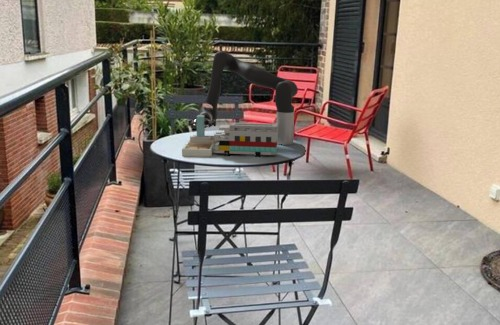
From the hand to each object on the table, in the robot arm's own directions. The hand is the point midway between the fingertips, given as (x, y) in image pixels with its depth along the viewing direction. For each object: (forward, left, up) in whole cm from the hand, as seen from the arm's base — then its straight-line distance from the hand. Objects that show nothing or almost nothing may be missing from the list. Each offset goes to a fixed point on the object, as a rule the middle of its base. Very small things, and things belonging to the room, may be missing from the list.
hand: (200, 125), depth 248 cm
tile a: (-2, +9, -10) cm, 13 cm away
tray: (0, +9, -12) cm, 15 cm away
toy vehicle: (-23, +10, -12) cm, 28 cm away
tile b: (+3, +9, -10) cm, 13 cm away
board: (0, -5, -12) cm, 13 cm away
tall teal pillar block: (0, 0, -8) cm, 8 cm away
